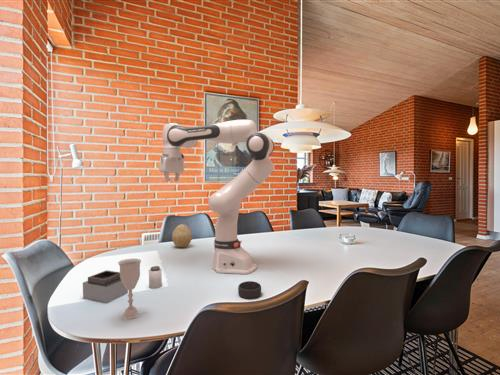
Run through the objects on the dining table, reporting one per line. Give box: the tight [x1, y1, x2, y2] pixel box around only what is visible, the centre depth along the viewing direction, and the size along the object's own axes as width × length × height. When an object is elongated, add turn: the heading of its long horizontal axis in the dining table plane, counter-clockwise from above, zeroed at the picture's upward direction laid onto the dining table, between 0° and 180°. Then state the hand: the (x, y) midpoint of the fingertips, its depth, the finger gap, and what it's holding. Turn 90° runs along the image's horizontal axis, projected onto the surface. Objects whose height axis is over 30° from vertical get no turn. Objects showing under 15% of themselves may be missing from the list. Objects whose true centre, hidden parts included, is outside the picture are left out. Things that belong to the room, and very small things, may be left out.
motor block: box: [82, 270, 129, 304], centre depth 110 cm, size 16×10×8 cm, turn 69°
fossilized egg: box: [171, 223, 193, 248], centre depth 183 cm, size 13×13×15 cm
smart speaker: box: [237, 280, 262, 300], centre depth 109 cm, size 9×9×4 cm
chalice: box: [117, 258, 142, 320], centre depth 93 cm, size 7×7×18 cm
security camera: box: [148, 265, 163, 290], centre depth 118 cm, size 5×5×8 cm
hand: (172, 181), depth 147 cm, fingers open, 8 cm apart
